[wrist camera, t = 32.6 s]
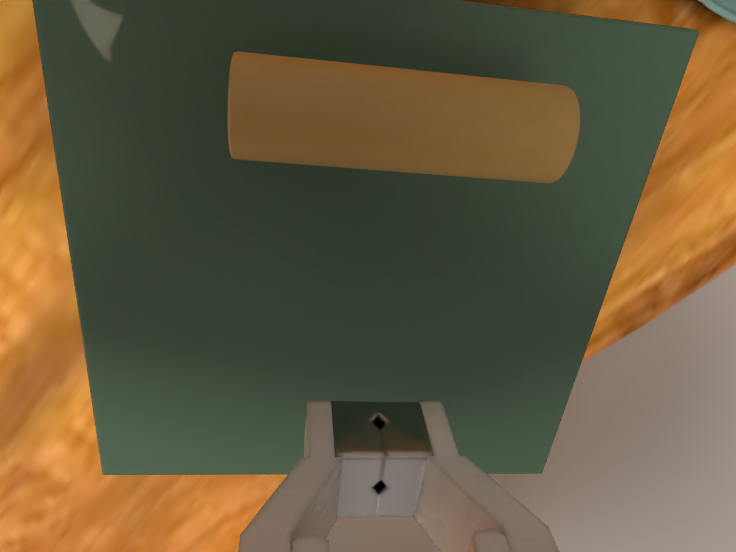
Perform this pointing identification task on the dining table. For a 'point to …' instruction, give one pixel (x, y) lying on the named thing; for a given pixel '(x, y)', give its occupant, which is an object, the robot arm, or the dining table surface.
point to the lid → (342, 213)
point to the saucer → (722, 8)
